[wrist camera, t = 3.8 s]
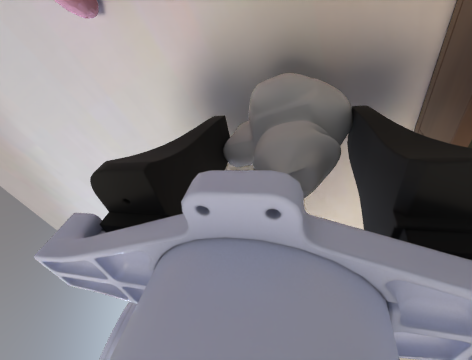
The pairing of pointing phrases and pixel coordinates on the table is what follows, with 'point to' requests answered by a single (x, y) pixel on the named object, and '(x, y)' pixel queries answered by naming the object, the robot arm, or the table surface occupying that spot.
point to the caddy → (451, 85)
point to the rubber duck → (292, 129)
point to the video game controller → (80, 7)
